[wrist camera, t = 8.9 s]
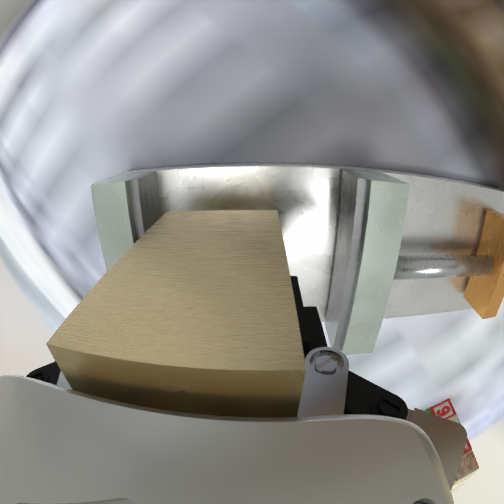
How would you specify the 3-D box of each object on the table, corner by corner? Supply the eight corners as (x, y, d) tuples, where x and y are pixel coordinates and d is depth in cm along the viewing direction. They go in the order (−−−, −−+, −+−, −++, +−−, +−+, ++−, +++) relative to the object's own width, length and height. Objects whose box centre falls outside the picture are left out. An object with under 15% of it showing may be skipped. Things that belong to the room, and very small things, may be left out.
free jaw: (502, 192, 13) (529, 204, 11) (469, 310, 18) (487, 332, 15) (342, 169, 14) (361, 179, 11) (324, 324, 18) (333, 355, 15)
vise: (498, 188, 15) (535, 205, 11) (469, 298, 19) (496, 327, 15) (128, 170, 16) (90, 185, 12) (150, 305, 20) (129, 344, 16)
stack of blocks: (431, 449, 34) (447, 499, 22) (401, 462, 35) (414, 514, 24) (449, 396, 26) (480, 469, 14) (407, 416, 27) (432, 494, 16)
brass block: (277, 210, 12) (305, 369, 4) (273, 334, 15) (278, 490, 7) (167, 211, 13) (46, 343, 4) (185, 331, 15) (141, 476, 7)
